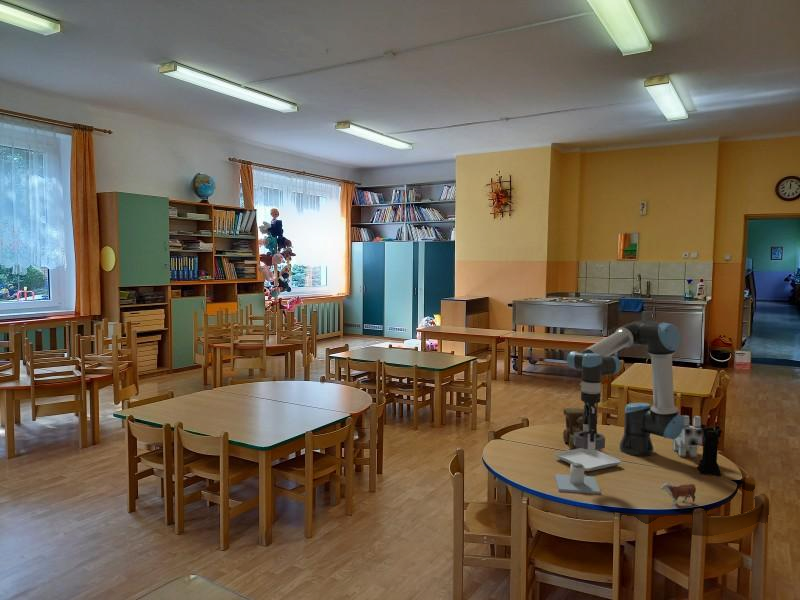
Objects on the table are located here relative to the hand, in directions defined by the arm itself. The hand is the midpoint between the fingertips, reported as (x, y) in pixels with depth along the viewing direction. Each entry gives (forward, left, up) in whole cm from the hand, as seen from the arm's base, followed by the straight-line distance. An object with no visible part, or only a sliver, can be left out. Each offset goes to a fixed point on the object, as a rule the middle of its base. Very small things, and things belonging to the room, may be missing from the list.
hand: (588, 444), depth 235 cm
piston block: (+4, +1, -17) cm, 18 cm away
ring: (0, 0, 0) cm, 0 cm away
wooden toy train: (-3, -50, -17) cm, 53 cm away
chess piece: (-55, -25, -17) cm, 63 cm away
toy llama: (-52, -47, -17) cm, 72 cm away
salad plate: (-4, -26, -18) cm, 32 cm away
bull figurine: (-32, +12, -17) cm, 38 cm away
